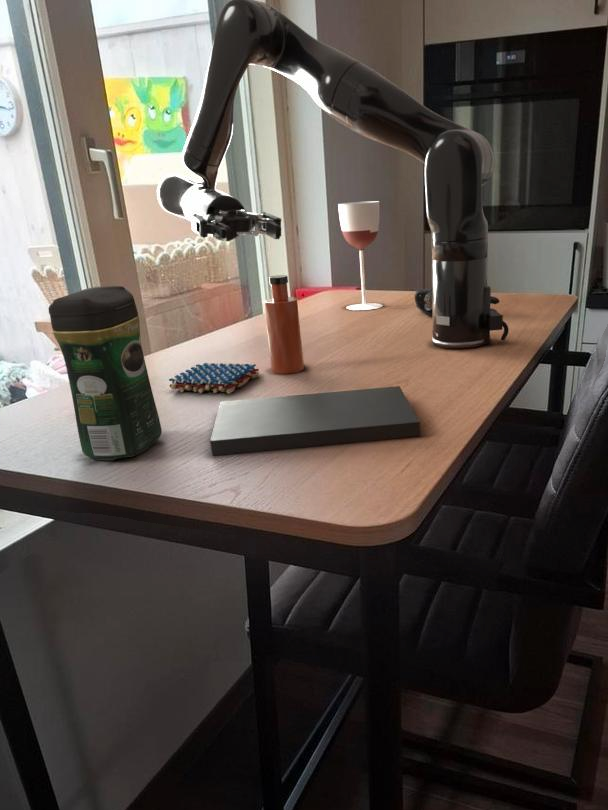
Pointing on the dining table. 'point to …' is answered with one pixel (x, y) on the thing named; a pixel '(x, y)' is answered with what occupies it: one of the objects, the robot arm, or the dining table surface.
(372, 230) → the wineglass
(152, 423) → the coffee jar
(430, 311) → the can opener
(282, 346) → the oil bottle
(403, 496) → the dining table surface
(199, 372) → the woven mat
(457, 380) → the dining table surface
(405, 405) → the cutting board
